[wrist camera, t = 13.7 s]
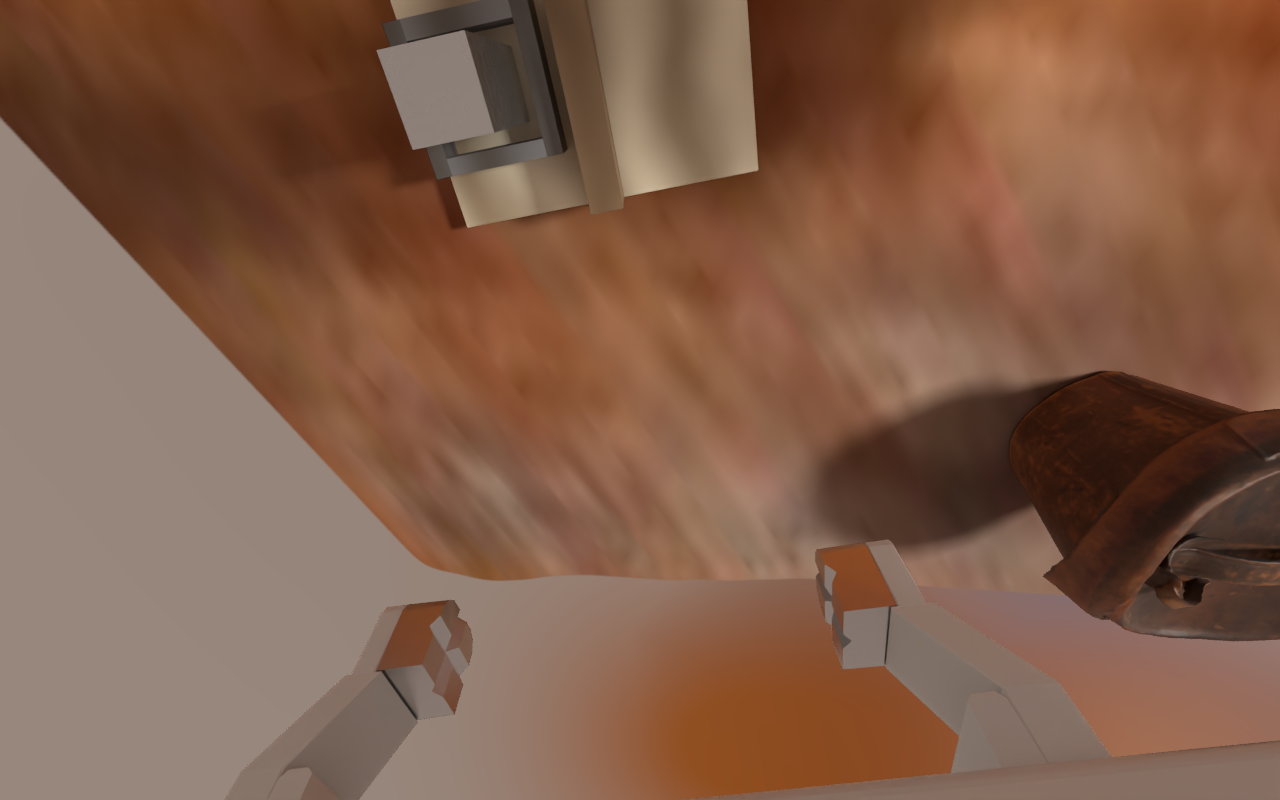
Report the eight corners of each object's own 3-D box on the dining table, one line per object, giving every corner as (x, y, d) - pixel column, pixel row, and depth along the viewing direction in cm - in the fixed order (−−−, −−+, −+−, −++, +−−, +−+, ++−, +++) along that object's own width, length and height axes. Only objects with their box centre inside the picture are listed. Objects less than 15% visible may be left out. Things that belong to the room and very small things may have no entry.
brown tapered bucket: (930, 430, 47) (1074, 596, 32) (1174, 291, 41) (1502, 414, 26) (1003, 541, 54) (1150, 721, 39) (1221, 437, 48) (1500, 603, 33)
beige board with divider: (733, -129, 29) (753, -171, 24) (753, 167, 36) (772, 179, 31) (384, -43, 30) (338, -68, 26) (473, 222, 38) (450, 242, 33)
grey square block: (511, 46, 31) (464, 30, 23) (530, 121, 33) (494, 132, 25) (446, 60, 32) (376, 50, 23) (469, 134, 34) (412, 150, 25)
